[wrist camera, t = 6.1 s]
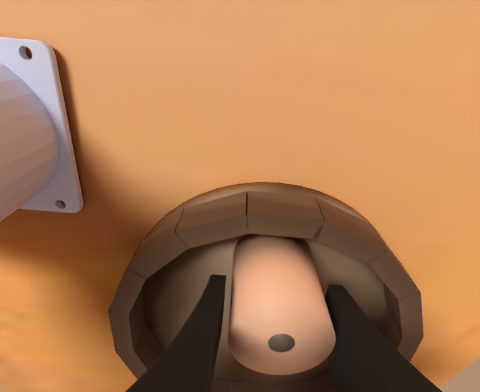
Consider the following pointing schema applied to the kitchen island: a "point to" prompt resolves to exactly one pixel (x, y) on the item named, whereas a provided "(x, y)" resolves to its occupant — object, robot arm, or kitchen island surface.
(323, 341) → the bead
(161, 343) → the groove tray
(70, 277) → the kitchen island surface
